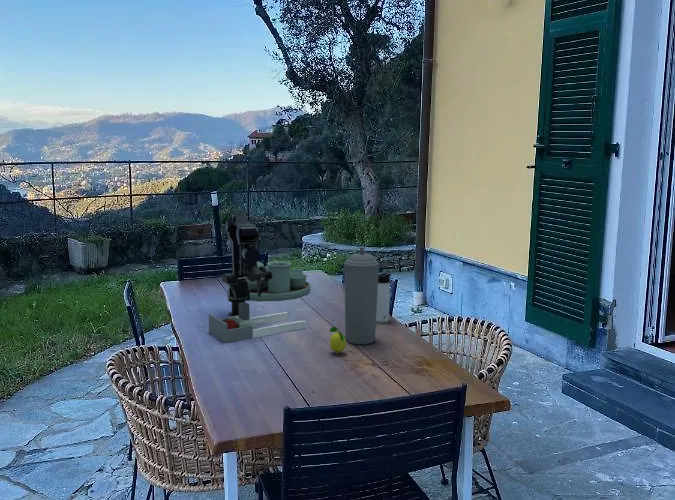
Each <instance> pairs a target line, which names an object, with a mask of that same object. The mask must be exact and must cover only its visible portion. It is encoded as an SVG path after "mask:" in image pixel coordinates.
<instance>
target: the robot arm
mask: <svg viewBox="0 0 675 500" xmlns="http://www.w3.org/2000/svg"><path fill="white" fill-rule="evenodd" d="M225 232H226V233H227V237H228V239H229V240H230V242H231V255H232V256H231V257H232V258H231V261H232V272H229V273H223V275H221V281H222V282H223V283H225V284H227V285H228V289H227V295H226V297H227V301H228V302H229V303H230V304H231V305H230V306H231V311H229V312H228V314H229V315H231V317H233V316H239V303H240V302H248V301H250V292H251V290H250V289H249V286H248V283H247V281H246V280H245V279H249V281H251V282H254V281H257V295H258V297H260V295H261V292H262V289H263V287H264V285H265V283H266V282H267V281H269V279H272V278H273V274H272V272H271V271H269V270H267V269H266V267H265V266H264V267H257V262H260V259H261V253H260V251H259V250H258V249H257V245H258V246H259V245H261V235H260V231H259V229H258V228H257V226H256V225H255V224H253V223H250V222H249V221H248V218H247V216H246V213H244V212H238V213H237V212H234V213H232V215H231V217H229V218H228V219H226V222H225ZM245 276H246V277H245ZM229 286H230V288H229Z"/></svg>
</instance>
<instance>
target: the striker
mask: <svg viewBox="0 0 675 500" xmlns="http://www.w3.org/2000/svg"><path fill="white" fill-rule="evenodd" d="M228 318H229V319H231V320H234V321H235V322H237V323H238V324H239V327H238V328H241V327H246V326H253V329H256V326H260V325H264V320H259V321H254V320H252V319H250V318H251V317H250V304H249V303H248V302H247V301H245V302H240V303H239V316H229V317H228Z"/></svg>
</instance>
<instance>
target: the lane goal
mask: <svg viewBox="0 0 675 500" xmlns="http://www.w3.org/2000/svg"><path fill="white" fill-rule="evenodd" d="M249 318H250V319H252V320H254V321H259V320H264V324H265V325H266V324H270V323H275V322H276V323H277V322H282V321H288V320H289V312H288V311H284V312H279V313H273V314H267V315H260V316H259V315H258V316H254V317H249ZM226 320H229V317H224V318H218V317H217V316H215V315H213V314H212V313H210V314H208V333H209V332H210V334H211V335H212V334H213V335H212V336H214V337H215V336H216V337H215V338H217V339H218V338H219V339H218V340H220V341H221V340H222V341H221V342H223V343H224V342H225V343H224V344H227V343H233V342H238V341H239V342H240V341H243V340H244V341H245V340H249V339H250V340H251V339H254V338H255V339H256V338H259V337H266V336H270V335H277V334H282V333H289V332H293V331H299V330H303V329H307V321H306V320H305V319H304V320H299V321H293V322H287V323H282V324H276V325H270V326H264V327H259V328H255V329H253V326H246V327H241V328H235V329H229V330H228V326H227V323H225V322H224V321H226ZM264 324H263V325H264Z"/></svg>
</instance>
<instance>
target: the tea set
mask: <svg viewBox="0 0 675 500" xmlns="http://www.w3.org/2000/svg"><path fill="white" fill-rule="evenodd" d="M291 265H292V262H289V261H284V260H283V261H282V260H281V261H280V260H274V261H269V262H266V265H265V266H264V263H263V262H260V261H258V262H257V267H266V269H267V270H269V271H271V272H272V274H273V278H272V279H269V281H267V282H266V283H265V285H264V287H263V289H262V292H261V295H260V297H258V295H257V281H254V282H251V281H249V279H245V280H246V281H247V283H248V286H249V289H250V290H251V292H250V300H251V301H256V302H257V301H259V302H260V301H261V302H263V301H264V302H265V301H269V302H270V301H271V302H272V301H275V302H276V301H278V302H279V301H282V300H283V301H284V300H286V301H287V300H292V299H296V298H300V297H302V296H305V295H307V294H308V293H309V291H310V289H311V283H310V282H308V281H306V280H307V278H308V275H307V274H305V273H304V270H302V269H300V268H299V269H298V268H291ZM245 277H246V276H245ZM228 288H230V286H229V285H228ZM250 300H249V301H250Z"/></svg>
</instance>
